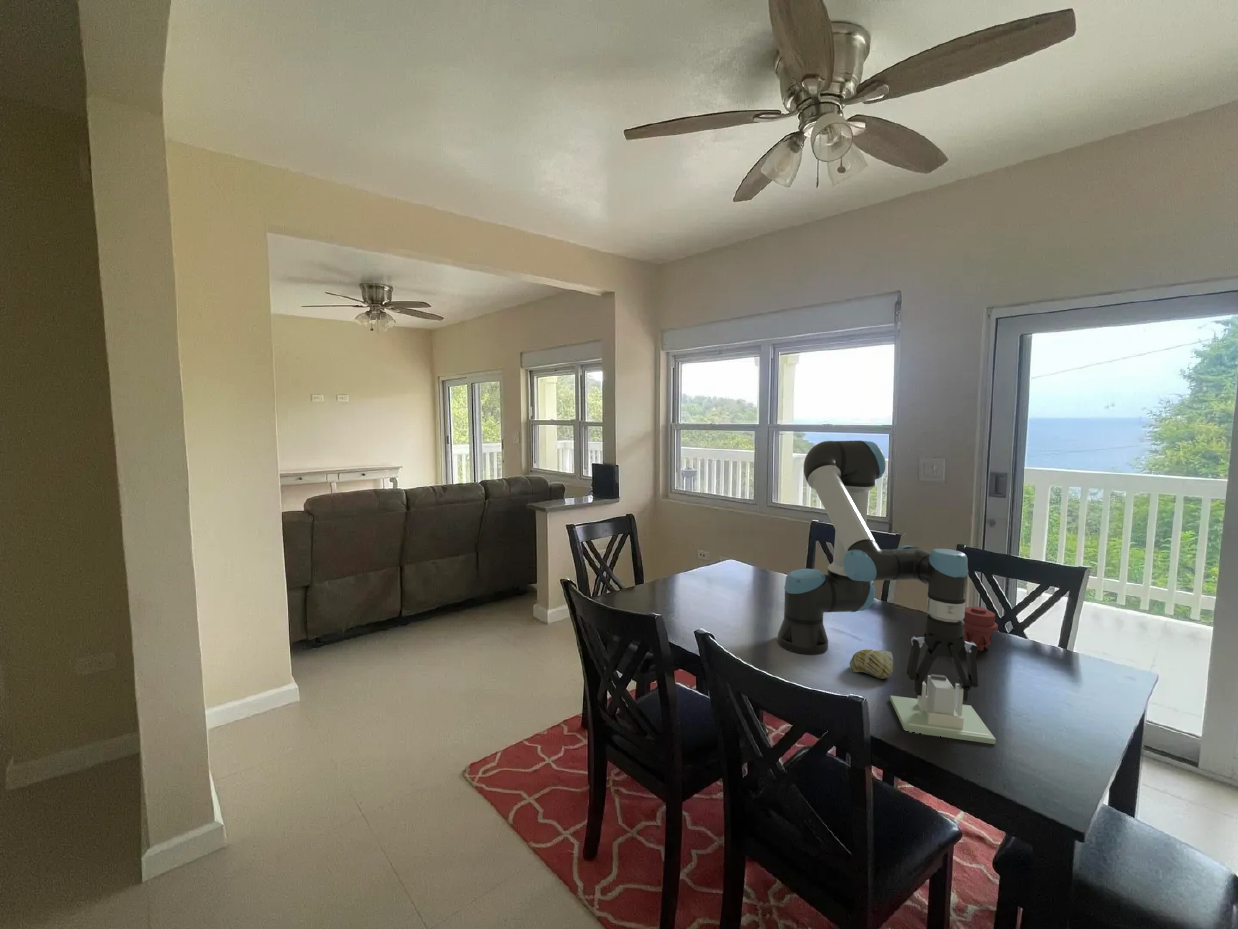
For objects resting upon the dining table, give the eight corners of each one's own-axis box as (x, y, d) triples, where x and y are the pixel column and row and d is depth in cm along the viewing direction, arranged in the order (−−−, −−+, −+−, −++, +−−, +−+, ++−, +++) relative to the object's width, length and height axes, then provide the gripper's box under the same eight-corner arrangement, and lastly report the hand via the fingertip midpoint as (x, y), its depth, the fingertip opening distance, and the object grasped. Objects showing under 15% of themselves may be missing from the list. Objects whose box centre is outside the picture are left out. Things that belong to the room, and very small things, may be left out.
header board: (904, 731, 120) (905, 716, 120) (890, 700, 134) (890, 686, 133) (995, 744, 115) (996, 728, 115) (970, 710, 129) (971, 696, 129)
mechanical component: (986, 641, 169) (1002, 654, 159) (952, 638, 171) (966, 651, 161) (989, 604, 168) (1005, 615, 158) (954, 601, 170) (968, 613, 160)
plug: (933, 720, 122) (935, 685, 121) (925, 706, 128) (927, 672, 127) (953, 723, 121) (955, 687, 120) (944, 709, 127) (946, 675, 126)
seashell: (840, 663, 152) (856, 633, 152) (869, 678, 152) (885, 647, 152) (858, 679, 142) (875, 646, 142) (888, 694, 142) (906, 662, 142)
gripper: (902, 618, 121) (897, 712, 123) (1001, 627, 116) (994, 725, 118) (894, 606, 128) (889, 696, 130) (987, 614, 123) (981, 708, 125)
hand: (939, 710), depth 124 cm, fingers open, 7 cm apart
